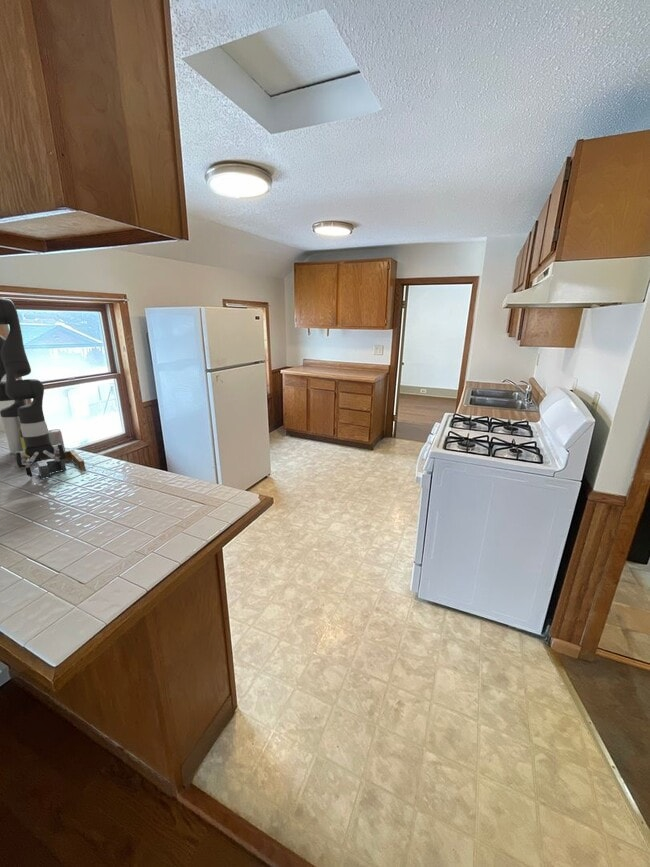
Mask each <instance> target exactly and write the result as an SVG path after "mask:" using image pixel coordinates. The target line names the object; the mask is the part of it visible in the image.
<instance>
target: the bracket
mask: <svg viewBox="0 0 650 867" xmlns="http://www.w3.org/2000/svg"><path fill="white" fill-rule="evenodd" d="M55 461H56V460H54V459H49V460H44V461H43V460H40V461H39V460H38V461H36V466H37V468H38V473H39V475H40V476H41V478H44V479H47V478H46V477H49V478H51V474H53V473H52V472H54V473H57V472H56V471H58V470H57V467H56V463H55ZM60 462H61V466H62V468H61V469H60V471H59V472H62V471H61V470H63V471H66V470H67V466H66V461H64V459H62V460H61V461H60Z"/></svg>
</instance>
